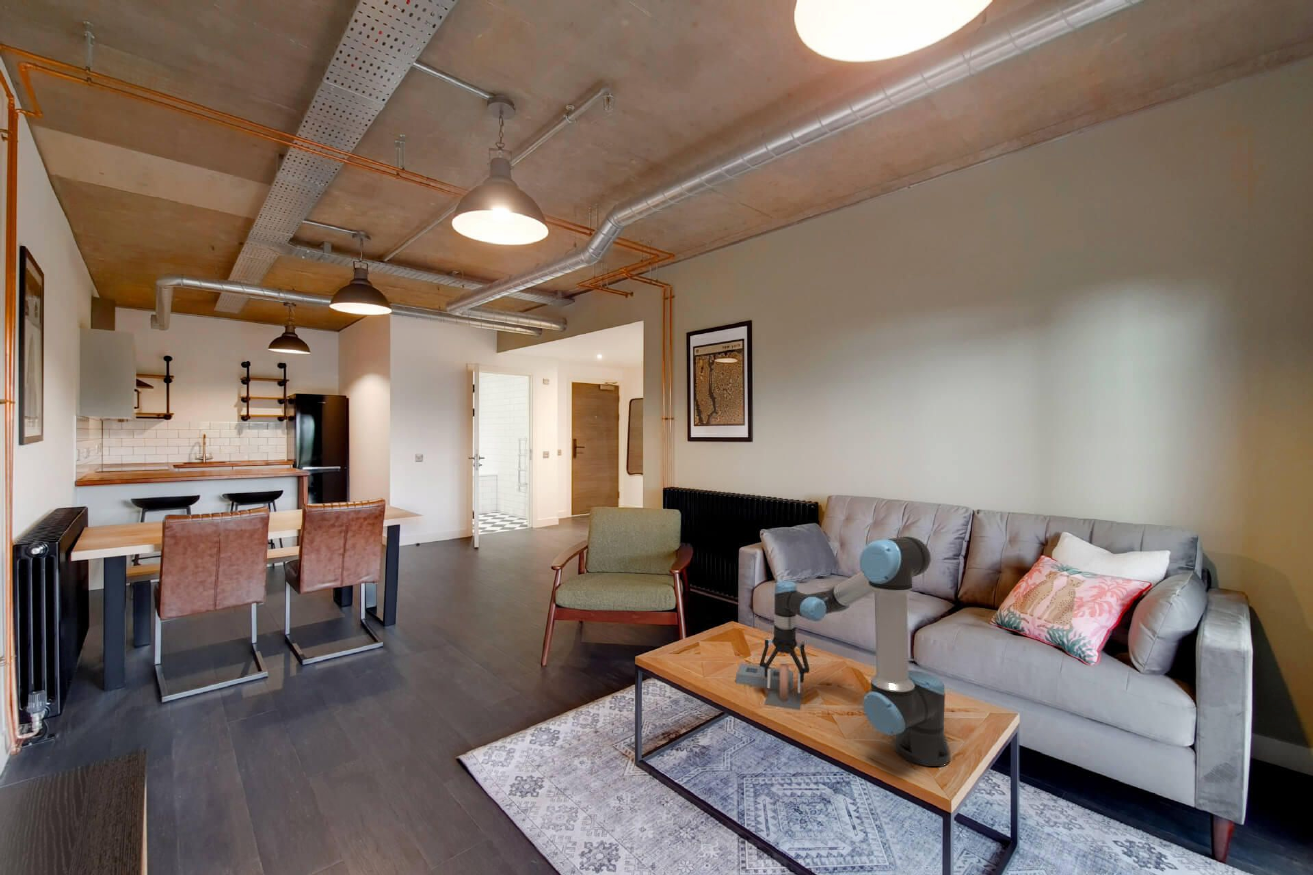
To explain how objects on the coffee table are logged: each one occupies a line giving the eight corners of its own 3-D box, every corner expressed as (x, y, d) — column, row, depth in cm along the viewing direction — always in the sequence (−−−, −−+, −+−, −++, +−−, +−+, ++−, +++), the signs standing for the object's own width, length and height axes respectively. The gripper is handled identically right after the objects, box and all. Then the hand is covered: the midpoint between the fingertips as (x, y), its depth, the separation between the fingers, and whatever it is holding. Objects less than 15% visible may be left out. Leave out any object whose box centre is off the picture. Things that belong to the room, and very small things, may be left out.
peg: (787, 701, 197) (788, 667, 197) (778, 700, 198) (779, 666, 198) (788, 697, 200) (788, 664, 200) (779, 696, 201) (780, 663, 201)
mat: (800, 711, 191) (800, 709, 191) (764, 705, 195) (764, 704, 195) (802, 695, 203) (802, 694, 203) (768, 690, 206) (768, 689, 206)
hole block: (791, 692, 205) (791, 681, 205) (736, 684, 211) (736, 673, 211) (793, 680, 214) (793, 670, 214) (740, 673, 220) (740, 663, 220)
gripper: (818, 626, 199) (817, 688, 199) (754, 618, 205) (753, 679, 206) (817, 633, 191) (816, 698, 192) (751, 625, 198) (750, 688, 199)
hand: (783, 688), depth 199 cm, fingers open, 10 cm apart
